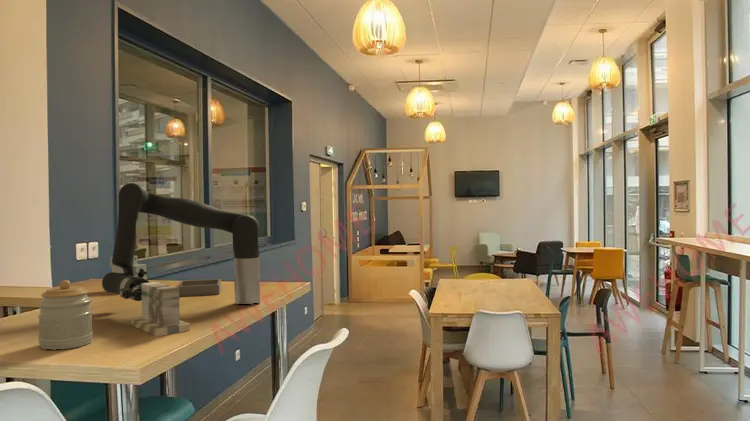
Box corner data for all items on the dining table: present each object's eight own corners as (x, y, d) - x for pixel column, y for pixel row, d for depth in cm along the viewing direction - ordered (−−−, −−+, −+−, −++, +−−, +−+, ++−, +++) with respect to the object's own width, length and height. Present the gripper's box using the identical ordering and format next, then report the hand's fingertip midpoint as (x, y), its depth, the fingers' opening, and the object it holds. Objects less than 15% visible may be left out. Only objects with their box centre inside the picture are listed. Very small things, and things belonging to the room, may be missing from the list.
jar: (35, 353, 143) (33, 285, 142) (42, 341, 155) (41, 278, 154) (91, 347, 148) (89, 281, 148) (94, 336, 160) (93, 275, 159)
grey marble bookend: (131, 325, 174) (130, 283, 174) (162, 320, 181) (161, 280, 180) (156, 336, 159) (155, 291, 159) (189, 330, 166) (188, 287, 165)
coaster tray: (221, 288, 246) (221, 279, 245) (219, 294, 229) (219, 284, 229) (181, 289, 242) (180, 280, 242) (176, 296, 225) (175, 286, 225)
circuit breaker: (139, 292, 236) (139, 257, 236) (110, 291, 239) (109, 257, 239) (150, 289, 244) (149, 255, 243) (121, 289, 247) (120, 255, 246)
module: (141, 318, 174) (141, 283, 174) (156, 315, 178) (155, 281, 177) (148, 320, 171) (147, 285, 170) (162, 318, 174) (162, 283, 174)
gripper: (112, 279, 179) (130, 284, 167) (156, 274, 189) (176, 279, 177) (113, 302, 179) (130, 309, 168) (157, 296, 189) (176, 302, 177)
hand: (154, 293), depth 172 cm, fingers open, 8 cm apart
